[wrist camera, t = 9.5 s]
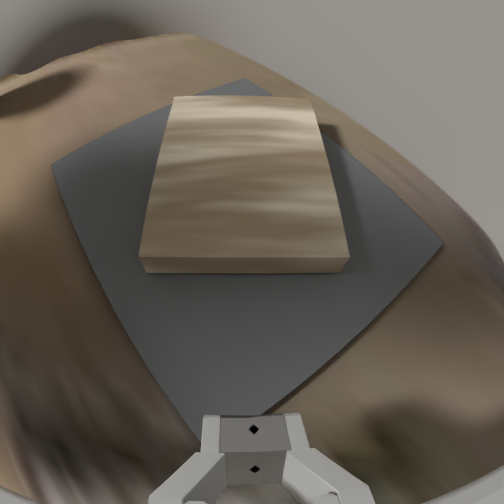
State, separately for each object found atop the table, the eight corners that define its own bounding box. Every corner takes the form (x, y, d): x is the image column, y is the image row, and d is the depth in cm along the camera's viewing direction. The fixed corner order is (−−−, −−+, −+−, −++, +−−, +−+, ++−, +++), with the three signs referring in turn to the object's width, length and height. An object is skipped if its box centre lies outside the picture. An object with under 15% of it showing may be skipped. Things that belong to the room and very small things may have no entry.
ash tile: (349, 257, 18) (310, 99, 26) (138, 256, 17) (174, 96, 25) (338, 274, 20) (306, 118, 28) (147, 274, 19) (176, 116, 27)
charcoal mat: (208, 450, 15) (207, 451, 14) (52, 168, 24) (50, 164, 24) (441, 245, 22) (444, 242, 22) (244, 81, 32) (244, 77, 31)
